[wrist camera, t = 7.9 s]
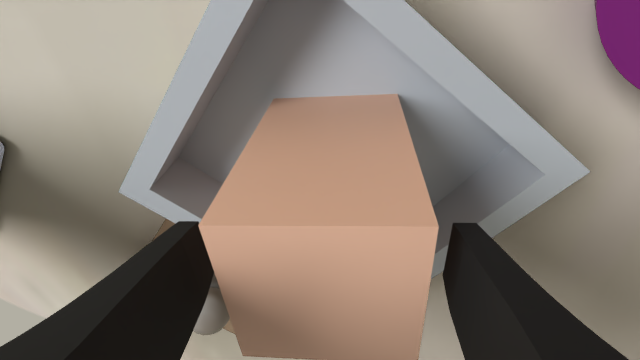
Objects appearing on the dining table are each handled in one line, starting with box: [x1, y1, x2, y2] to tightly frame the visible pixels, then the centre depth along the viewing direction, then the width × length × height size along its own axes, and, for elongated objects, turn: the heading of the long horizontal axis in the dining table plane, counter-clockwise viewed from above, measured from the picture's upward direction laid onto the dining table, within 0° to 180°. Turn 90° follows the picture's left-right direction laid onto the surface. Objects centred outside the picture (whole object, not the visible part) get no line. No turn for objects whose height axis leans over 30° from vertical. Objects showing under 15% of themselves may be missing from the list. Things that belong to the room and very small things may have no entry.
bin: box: [119, 0, 590, 279], centre depth 14 cm, size 13×12×4 cm
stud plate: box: [152, 219, 235, 335], centre depth 19 cm, size 9×9×4 cm
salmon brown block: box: [198, 94, 439, 360], centre depth 12 cm, size 5×5×8 cm
